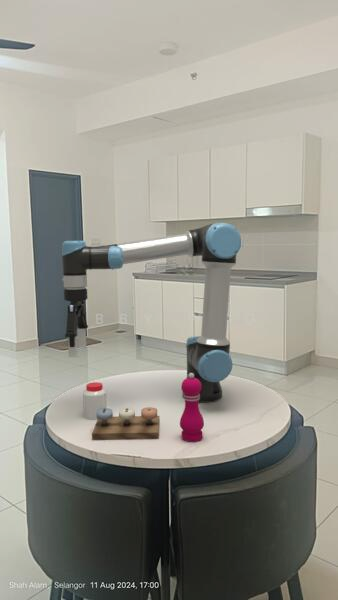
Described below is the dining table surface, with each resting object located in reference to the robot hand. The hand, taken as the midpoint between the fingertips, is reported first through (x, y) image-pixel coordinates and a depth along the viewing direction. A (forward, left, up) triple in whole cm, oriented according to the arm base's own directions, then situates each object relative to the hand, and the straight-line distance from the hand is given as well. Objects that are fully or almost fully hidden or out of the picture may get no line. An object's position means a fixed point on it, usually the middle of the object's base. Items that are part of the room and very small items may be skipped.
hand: (77, 351), depth 161 cm
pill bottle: (-5, -2, -23) cm, 24 cm away
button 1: (-24, +11, -21) cm, 33 cm away
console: (-17, +11, -23) cm, 31 cm away
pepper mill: (-37, +18, -23) cm, 47 cm away
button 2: (-17, +11, -21) cm, 29 cm away
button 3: (-10, +11, -21) cm, 25 cm away
